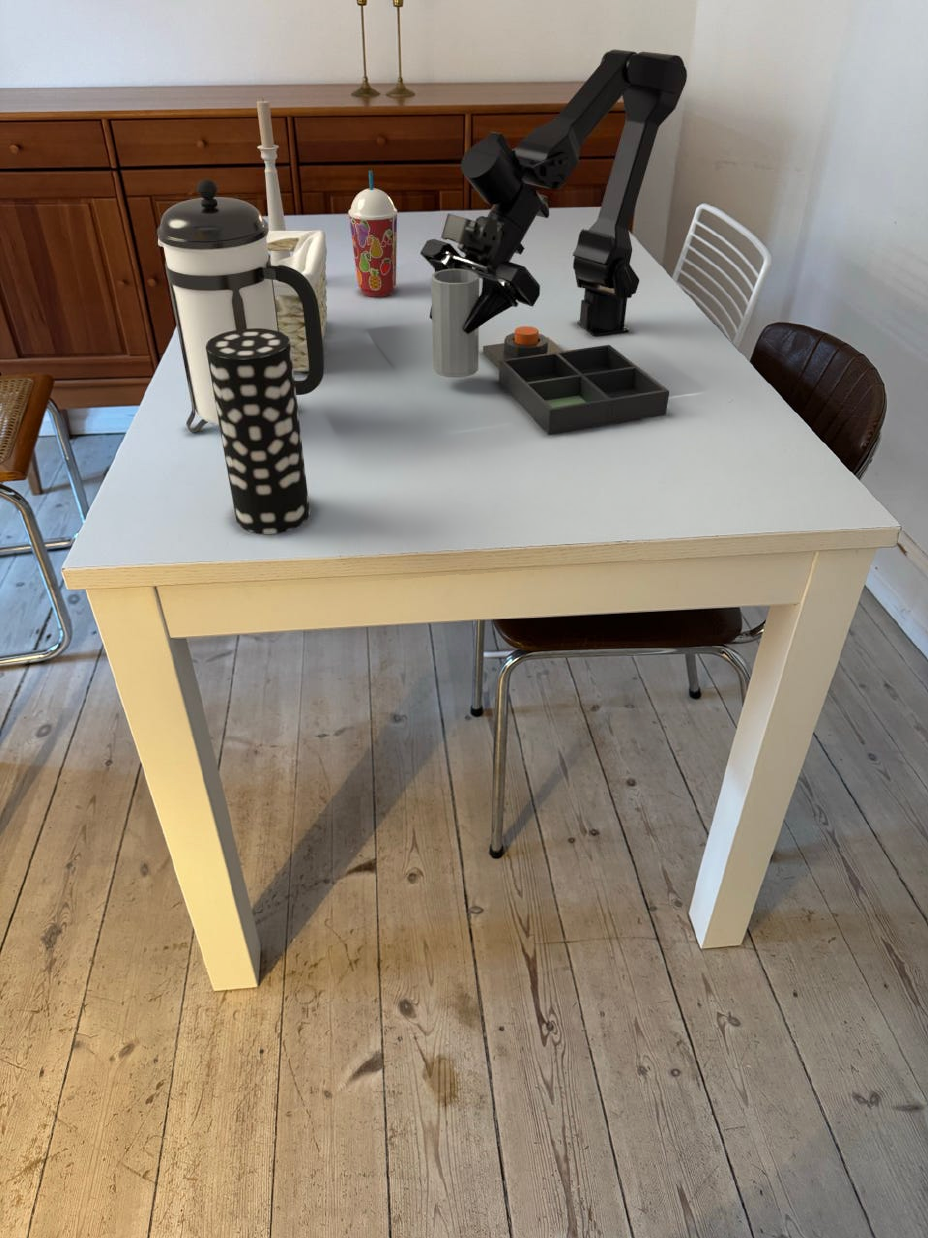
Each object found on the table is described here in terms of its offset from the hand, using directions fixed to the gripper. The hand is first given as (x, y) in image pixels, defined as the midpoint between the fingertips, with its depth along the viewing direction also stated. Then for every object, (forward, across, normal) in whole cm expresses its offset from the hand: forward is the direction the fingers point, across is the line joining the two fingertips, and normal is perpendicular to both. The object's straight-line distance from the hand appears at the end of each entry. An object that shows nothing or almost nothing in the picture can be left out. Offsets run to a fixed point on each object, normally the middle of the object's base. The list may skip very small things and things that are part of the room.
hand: (448, 325), depth 126 cm
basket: (+13, -30, 0) cm, 33 cm away
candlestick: (0, -55, +14) cm, 56 cm away
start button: (-7, 0, +16) cm, 17 cm away
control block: (-5, 0, +18) cm, 19 cm away
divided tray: (-1, +15, +14) cm, 21 cm away
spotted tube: (+34, +12, -20) cm, 41 cm away
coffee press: (+25, -10, -12) cm, 30 cm away
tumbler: (+4, 0, +6) cm, 7 cm away
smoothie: (-7, -40, +20) cm, 45 cm away
